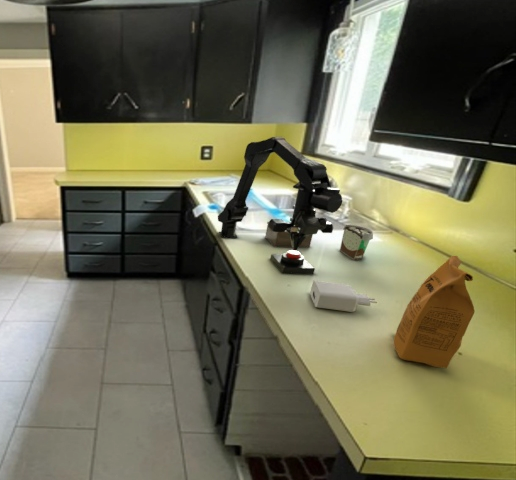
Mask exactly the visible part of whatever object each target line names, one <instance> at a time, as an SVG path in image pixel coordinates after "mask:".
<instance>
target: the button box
mask: <svg viewBox="0 0 516 480" xmlns="http://www.w3.org/2000/svg"><path fill="white" fill-rule="evenodd" d="M287 252H288V251H286V252H282V254H281V253H270V258H269V260H270V262H272V264H273V265H274V266H275V267H276V268H277V269H278V270H279V271H280V273H281V274H283V275H284V274H285V275H314V274H315V271H316V268H315V267H314V266H313V265H312V264H311V263H310V262H309V261H307V260H306V259H305V258H306V257H305V256H304V255H303V254H300V258H298V259H294V258H289V257H287Z"/></svg>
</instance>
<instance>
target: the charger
mask: <svg viewBox="0 0 516 480" xmlns="http://www.w3.org/2000/svg"><path fill="white" fill-rule="evenodd" d="M309 293H310V297H311V300H312V302H313V305H314V308H319V309H325V310H326V309H327V310H334V311H342V312H348V313H349V312H350V313H353V312H355V311H356V310H357V309H358V306H366V307H371V303H372V304H377V303H378V301H376V299H375V298H372V297H369V296H368V295H367V294H364V293H357V291H355V288H354V287H353V286H351V285H350V284H345V283H336V282H329V281H328V282H327V281H321V280H313V281H312V284H311V288H310V292H309Z"/></svg>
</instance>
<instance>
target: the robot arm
mask: <svg viewBox="0 0 516 480" xmlns="http://www.w3.org/2000/svg"><path fill="white" fill-rule="evenodd" d="M273 153H274V154H276V155H277V156H278V157H279V158H280V159H281V160H282V161H284V162H285V163H286V164H287V165H288V166H289V167H290V168H291V169H292V170H293V175H294V176H295V178H296V180H297V181H298V182H297V183H296V184H294V185H293V186H292V188H293V189H296V190H297V193H296V198H295V203H294V205H292V208H291V209H292V210H293V212H292V215H291V217H289V222H291V223H287V222H288V221H284V219H283V218H271V219H270V220H269V221H268V222H269V223H268V224H267V225H268V227H269V228H270V229H271V230H272V231H274V232H284V231H287V232H288V233H289V236H290V239H291V244H292V247H291V248H292V249H291V250H294V251H298V249H299V248H300V247H299V246H300V245H301V243H302V242H303V240H304V239H305V238H306V237H307V236H309V235H313V236H314V235H317V234H318V232H319V231H320V232H321V233H323V234H332V233H333V230H334V224H333V223H332V222H330V221H328V219H327V218H326V217H316V214H317V211H316V209H317V210H321V211H324V212H327V213H332V214H334V213H336V212H337V211H338V210H339V209H340V208H341V206H342V204H343V202H344V201H343V197H342V195H341V193H340V192H341V189H340V188H332V184H331V182H330V178H329V175H328V172H327V170H328V169H327V166H326V165H325V164H324V163H322V162H319V161H318V160H315V159H311V158H308V157H307V156H305V155H304V154H303V153H302V152H300V151H299V150H298V149H296V147H294V146H293V145H292V144H291V143H290V142H288V141H287V140H286V138H285V137H283V136H272V137H269V138H267V139H263V140H260V141H251V142H250V143H248V144H247V145H246V147H245V151H244V155H243V159H244V163H245V166H244V167H243V170H242V173H241V176H240V178H239V180H238V184H237V186H236V189H235V192H234V194H233V196H232V198H231V199H230V200H229V201H227V203H226V205H225V206H224V208H223V210H222V211H221V212H220V213H218V215H217V221H218V222H220V223H221V228H220V229H221V230H220V231H218V234H219V236H220V237H221V238H227V239H228V238H229V239H230V238H233V239H236V238H238V235H237V234H236V230H237V223H242V221H243V220H244V217H246V216H247V212H248V211H249V206H248V205H247V202H246V201H247V199H248V196H249V193H250V191H251V188H252V186H253V184H254V181H255V179H256V176H257V174H258V172H259V169H260V168H261V167H262V166H263V165H264V164H265V163H266V162H267V160H268V159H269V157H270V156H271V154H273ZM294 225H295V226H294Z"/></svg>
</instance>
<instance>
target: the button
mask: <svg viewBox="0 0 516 480" xmlns="http://www.w3.org/2000/svg"><path fill="white" fill-rule="evenodd" d="M286 252H287V257H289V258H294V259H298V258H300V254H301V252H300V251H299V250H296V251H294V250H293V249H290V250H287V251H286ZM301 255H302V254H301Z"/></svg>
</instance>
